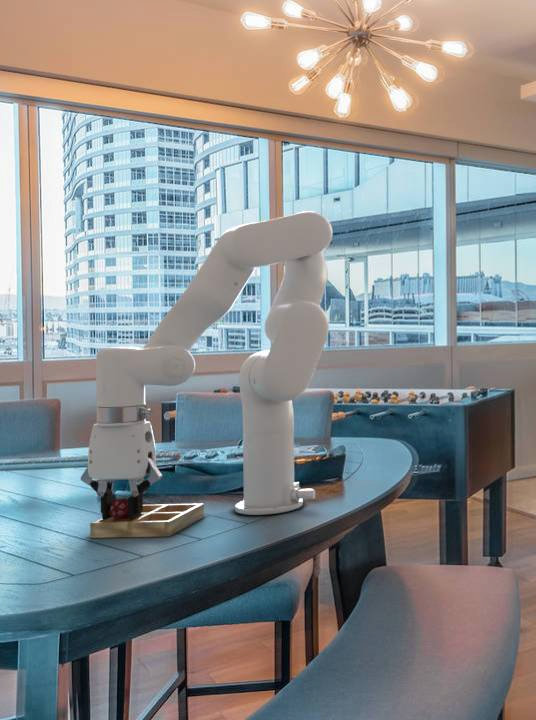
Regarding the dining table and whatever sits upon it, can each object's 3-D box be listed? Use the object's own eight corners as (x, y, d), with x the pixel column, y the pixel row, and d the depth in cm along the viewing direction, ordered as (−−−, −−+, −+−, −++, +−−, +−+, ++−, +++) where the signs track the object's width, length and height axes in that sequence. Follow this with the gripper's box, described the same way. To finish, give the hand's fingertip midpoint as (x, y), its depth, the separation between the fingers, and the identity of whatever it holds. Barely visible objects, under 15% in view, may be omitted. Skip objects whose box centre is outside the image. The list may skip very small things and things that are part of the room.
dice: (125, 516, 147) (125, 494, 147) (139, 519, 145) (139, 497, 145) (104, 520, 144) (104, 498, 144) (118, 523, 142) (117, 501, 142)
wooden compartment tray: (204, 516, 155) (203, 503, 155) (169, 536, 141) (169, 521, 141) (131, 518, 154) (131, 504, 154) (90, 537, 141) (89, 523, 141)
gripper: (178, 412, 148) (179, 511, 149) (86, 413, 148) (86, 512, 148) (158, 417, 141) (158, 522, 141) (60, 418, 140) (61, 523, 140)
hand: (121, 516), depth 144 cm, fingers closed on dice, 3 cm apart
